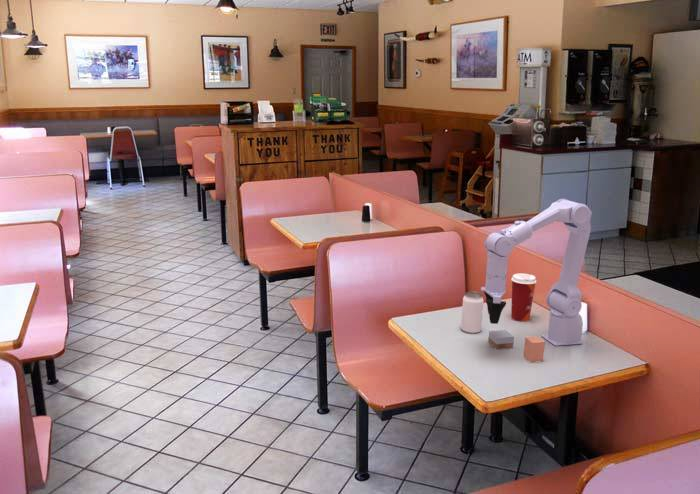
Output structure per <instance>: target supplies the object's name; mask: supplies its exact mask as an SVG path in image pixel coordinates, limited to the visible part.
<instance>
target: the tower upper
mask: <svg viewBox="0 0 700 494" xmlns="http://www.w3.org/2000/svg"><path fill="white" fill-rule="evenodd" d="M488 337H489V338H490V339H491V340H492V341H494V342H495V343H496V344H506V343H513V344H514V342H515V341H514V340H515V337H514V335H512V334H511V333H510V332H509V331H507V330H506V329H499V330H489V331H488Z"/></svg>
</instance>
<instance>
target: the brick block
mask: <svg viewBox="0 0 700 494" xmlns="http://www.w3.org/2000/svg"><path fill="white" fill-rule="evenodd" d="M545 343H546V341H544V340H543V339H542V338H541V337H539V336H527V337H525V338H524V348H523V356H524V358H525V359H526V360H527V362H529V361H530V362H529V363H534V362H535V363H536V361H540V362H543V361H544V354H545V345H546V344H545Z"/></svg>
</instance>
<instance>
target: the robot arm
mask: <svg viewBox="0 0 700 494" xmlns="http://www.w3.org/2000/svg"><path fill="white" fill-rule="evenodd" d="M592 214H593V212H592V210H591V209H590V208H589V206H588V205H586V204H585V203H579V202H576V201H572V200H568V199H566V198H560V199H558V200H556V201H554V202H551V204H550V206H549V207H548V208H546V209H545V210H543V211H541V212H540V213H539V214H537V215H535V216H534V217H532V218H530V219H528V220H527V221H524V220H515V221H514V224H512V225H510V226H508V227H507V228H503V229H500V231H499V232H492V233H490V234H489V235H488V236H487V238H486V239H485V241H484V242H483V243H484V244H483V245H484V248H485V250H486V254H487V259H486V260H487V261H486V271H485V272H486V273H485V286H481V287H480V290H481V292H483V293H484V295H485V296H484V297H485V298H486V299H485V304H486V306H487V313H488V315H489V324H492V325H493V324H494V325H495V324H496V325H498V324H499V321H500V318H501V314H502V312H503V310H504V308H505V307H506V305H507V302H506V301H505V300H503V301H502V298H503V297H504V295H505V294H506V292H507V289H506V285H507V284H506V283H507V273H508V261H509V255H510V254H511V253H512V252H513V250H514V249H515V247H517V246H519V245H520V244H522V243H524V242H526V241H528V240H529V239H531V237H532V236H533V233H534V232H536V231H538V230H540V229H543V228H544V227H546V226H548V225H550V224H553V223H554V222H559V223H563V224H564V225H565V226H566V228H567V229H568V231H569V235H568V241H567V244H566V249H565V252H564V257H563V260H562V261H563V262H562V264H561V269H560V274H559V278H558V281H557V282H555V283H553V284H552V286H551V288H550V290H549V291H548V294H547V296H546V304H547V306H548V307H549V311H550V312H549V319H548V320H549V322H548V330H547V332H548V333H546V334H542V335H541V337H542V338H544V339H545V340H546V341H548V342H549V343H550V344H552V345H553V346H555V347H557V346H570V345H580V344H583V342H582V340H581V339H582V335H583V327H584V326H583V324H584V322H583V317H582V315H581V314H580V312H581V310H582V306H583V304H582V296H583V294H582V292H581V290H580V288H579V287H578V283H579V279H580V276H581V271H582V268H583V263H584V260H585V255H586V252H587V246H588V243H589V240H590V239H589V238H590V234H591V230H592V227H591V218H592Z"/></svg>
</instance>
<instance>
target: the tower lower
mask: <svg viewBox="0 0 700 494" xmlns="http://www.w3.org/2000/svg"><path fill="white" fill-rule="evenodd" d="M488 342H489V345H490V346H492V347H493V348H494V349H495V348H496V349H495V350H502V349H501V348H507V349H513V348H514V342H513V343H506V344H496V343H495V342H494V341H492V340H491V339H490V338H489V336H488V339H487V343H488Z"/></svg>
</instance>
